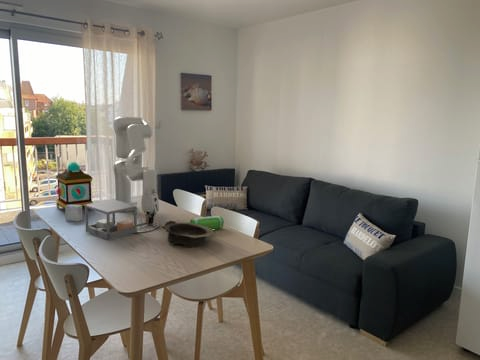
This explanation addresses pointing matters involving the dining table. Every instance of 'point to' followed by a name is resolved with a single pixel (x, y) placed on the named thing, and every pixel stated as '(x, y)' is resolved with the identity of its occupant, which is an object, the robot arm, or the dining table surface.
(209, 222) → the green tapered cylinder
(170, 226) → the stone bowl
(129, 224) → the tied block
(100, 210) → the lane shelf
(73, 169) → the decorative lantern
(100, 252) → the dining table surface
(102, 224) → the sage block
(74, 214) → the medicine box
